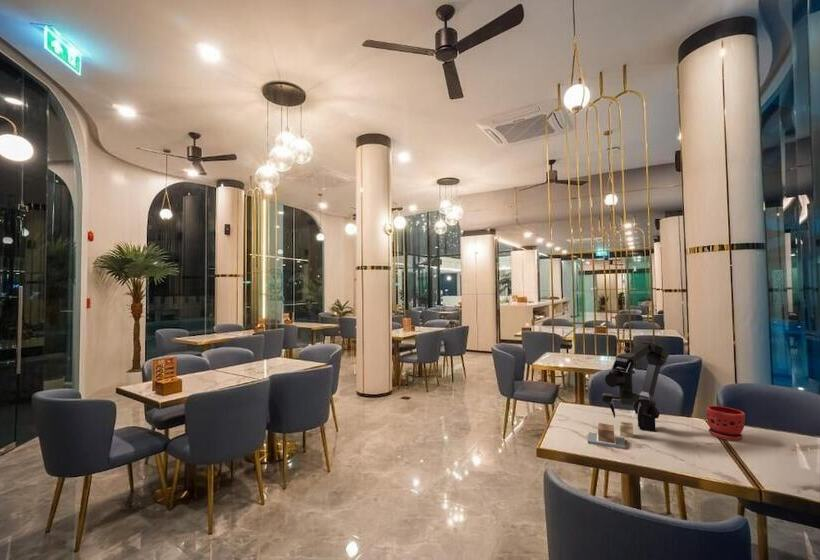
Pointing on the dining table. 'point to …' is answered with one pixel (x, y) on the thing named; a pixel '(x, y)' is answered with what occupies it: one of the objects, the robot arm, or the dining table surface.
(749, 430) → the dining table surface
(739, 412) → the plant pot
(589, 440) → the base board
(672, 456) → the dining table surface
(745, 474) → the dining table surface
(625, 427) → the maple cube
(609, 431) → the walnut block
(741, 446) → the dining table surface
